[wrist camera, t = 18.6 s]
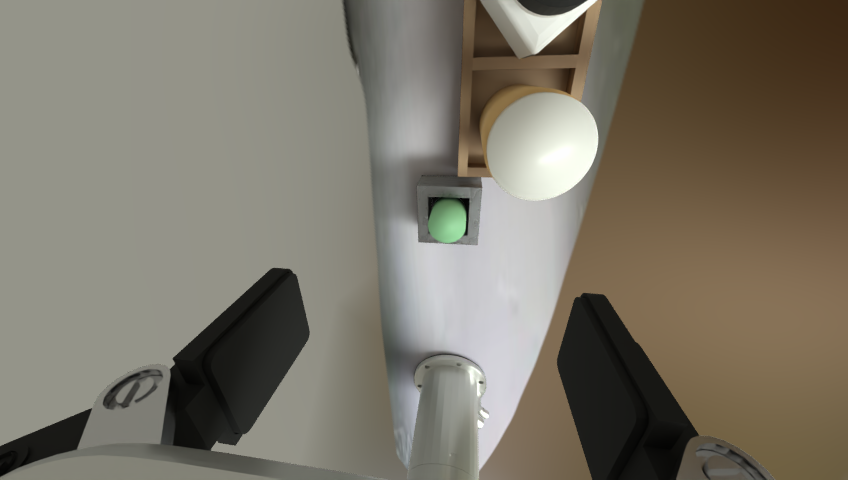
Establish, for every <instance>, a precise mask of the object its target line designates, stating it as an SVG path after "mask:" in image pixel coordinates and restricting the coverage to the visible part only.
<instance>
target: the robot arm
mask: <svg viewBox="0 0 848 480" xmlns="http://www.w3.org/2000/svg"><path fill="white" fill-rule="evenodd" d="M308 338H309V326H308V322H307V318H306V313H305V310H304V305H303V301H302V296H301V292H300V288H299V283H298V279H297V276H296V274H293V272H292V271H291V270H290V269H282V268H272V269H271V270H269V271H268V272H267V273H266V274H265V275H264V276H263V277H262V278H260V279H259V280H258V281H257V282H256V283H255V284H254V285H253V286H252V287H251V288H249V289H248V290H247V291H246V292H245V293H244V294H243V295H242V296H241V297H240V298H239V299H237V300H236V301H235V302H234V303H233V304H232V305H231V306H230V307H229V308H227V309H226V311H224V312H223V313H222V314H221V315H220V316H219V317H218V318H216V319H215V320H214V321H213V322H212V323H211V324H210V325H209V326H208V327H207V328H206V329H204V330H203V331H202V332H201V333H200V334H199V335H198V336H197V337H196V338H194V339H193V340H192V341H191V342H190V343H189V344H188V345H187V346H186V347H185V348H184V349H183V350H181V351H180V352H179V353H178V354H177V355H176V356H175V357H173V360H174V362H175V365H174V366H173V367H172V368H171V369H169V368H168V367H167V366H165V365H161V364H155V365H148V366H144V367H140V368H138V369H135V370H133V371H130V372H128V373H127V374H125V375H123V376H121V377H119V378H118V379H116V380H115V381H114V382H112V383H111V384H110V385H108V386H107V387H106V388H105V389H104V390H103V391H102V392H101V393H100V395H99V396H98V398H97V399H96V401H95V403H94V406H93V408H91V409H88V410H86V411H84V412H81V413H79V414H76V415H74V416H72V417H69V418H67V419H64V420H62V421H59V422H57V423H55V424H52V425H50V426H47V427H45V428H43V429H40V430H38V431H35V432H33V433H31V434H28V435H26V436H23V437H21V438H18V439H16V440H13V441H11V442H9V443H6V444H4V445H2V446H0V480H387V479H381V478H376V477H369V476H364V475H357V474H352V473H346V472H339V471H334V470H328V469H322V468H315V467H309V466H302V465H297V464H291V463H284V462H278V461H272V460H266V459H260V458H253V457H247V456H241V455H235V454H229V453H222V452H215V451H211V448H212V447H213V445H214V444H215V443H216V441H218V443H223V444H229V445H236V444H237V442H238V441H239V439H240V438H241V436H242V434H246V433H247V432H248V431H249V430H250V429H251V428H252V426H253V424H254V423H255V421H256V420H257V418H258V417H259V415H260V414H261V412H262V411H263V409H264V407H265V406H266V404H267V403H268V401H269V400H270V398H271V397H272V395H273V393H274V392H275V390H276V389H277V387H278V386H279V384H280V382H281V381H282V379H283V378H284V376H285V375H286V373H287V372H288V370H289V369H290V367H291V366H292V364H293V362H294V361H295V359H296V358H297V356H298V355H299V353H300V352H301V350H302V348H303V347H304V345H305V344H306V342H307V340H308ZM557 366H558V370H559V374H560V377H561V380H562V383H563V386H564V390H565V393H566V396H567V399H568V403H569V406H570V409H571V412H572V416H573V419H574V422H575V425H576V428H577V432H578V435H579V438H580V441H581V444H582V448H583V451H584V454H585V457H586V460H587V464H588V467H589V470H590V473H591V477H592V480H775V479H774V478H773V477H772V476H771V474H770V473H769V472H768V471H767V470H766V469H765V468H764V467H763V466H762V465H761V464H759V463H758V462H757V461H756V460H755V459H754V458H753V457H751V456H750V455H748V454H747V453H745V452H744V451H742V450H741V449H740V448H738V447H736V446H734V445H732V444H730V443H728V442H726V441H724V440H721V439H718V438H715V437H711V436H699V435H698V433H697V431H696V430H695V428H694V427H693V425H692V424H691V422H690V421H689V419H688V418H687V416H686V415H685V413H684V412H683V410H682V409H681V407H680V406H679V404H678V402H677V401H676V399H675V398H674V397H673V395H672V393H671V392H670V390H669V389H668V387H667V386H666V384H665V383H664V381H663V380H662V378H661V377H660V375H659V374H658V372H657V371H656V369H655V368H654V366H653V364H652V363H651V361H650V360H649V358H648V357H647V355H646V354H645V352H644V351H643V349H642V348H641V347H640V345H639V344H638V343H636V342H635V341H634V339H633V338H632V336H631V335H630V333H629V332H628V330H627V328H626V327H625V325H624V324H623V322H622V321H621V319H620V318H619V316H618V315H617V313H616V312H615V310H614V309H613V307H612V305H611V304H610V302H609V301H608V299H607V298H606V296H604V295H602V294H590V293H583V294H582V295H581V297H576V298H575V300H574V303H573V306H572V310H571V313H570V316H569V320H568V324H567V327H566V330H565V334H564V337H563V341H562V344H561V347H560V351H559V355H558V358H557ZM414 383H415V386H416V388H417V389H418V391H419V392H420V400H419V406H418V412H417V418H416V425H415V431H414V437H413V443H412V450H411V456H410V462H409V468H408V475H407V480H479V456H478V429H479V428H481V427H482V426H483V423H484V421H483V418H484V419H487V418H488V416H489V412H488V411H487V410H485V409H484V408H483V407H481V397H482V396H483V395H484V393H485V390H486V378H485V375H484V373H483V371H482V370H481V369H480V368H479V367H478V366H477V365H476V364H474V363H473V362H471V361H469V360H467V359H465V358H462V357H458V356H453V355H438V356H433V357H430V358H428V359H426V360H424V361H422V362H421V363H420V364H419V365H418V367H417V368H416V371H415V376H414ZM478 414H479V415H480V416H481V417H480V416H479V415H478ZM482 417H483V418H482Z"/></svg>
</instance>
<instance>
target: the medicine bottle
mask: <svg viewBox="0 0 848 480" xmlns="http://www.w3.org/2000/svg"><path fill="white" fill-rule="evenodd" d="M480 1H481V3H482V4H483V6H484V7H485V9H486V10H487V12H488V13H489V15H490V16H491V18H492V20H493V21H494V23H495V24H496V26H497V27H498V29H499V30H500V32H501V33H502V35H503V36H504V38H505V39H506V41H507V42H508V44H509V45H510V47H511V48H512V50H513V51H514V53H515V54H516V56H517V57H518V58H519V59H523V58H526V57H529V56H532V55H535V54H537V53H538V52H540V51H541V50H542V49H543V48H544V47H545V46H546V45H547V44H549V43H550V42H551V41H552V40H553V39H554V38H555V37H556V36H558V35H559V34H560V33H561V32H562V31H563V30H564V29H566V28H567V27H568V26H569V25H570V24H571V23H572V22H573V21H575V20H576V19H577V18H578V17H579V16H580V15H581V14H582V13H584V12H585V11H586V10H587V9H588V8H589V7H590V6H591V5H593V4H594V3H595V2H596V1H597V0H480Z"/></svg>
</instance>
